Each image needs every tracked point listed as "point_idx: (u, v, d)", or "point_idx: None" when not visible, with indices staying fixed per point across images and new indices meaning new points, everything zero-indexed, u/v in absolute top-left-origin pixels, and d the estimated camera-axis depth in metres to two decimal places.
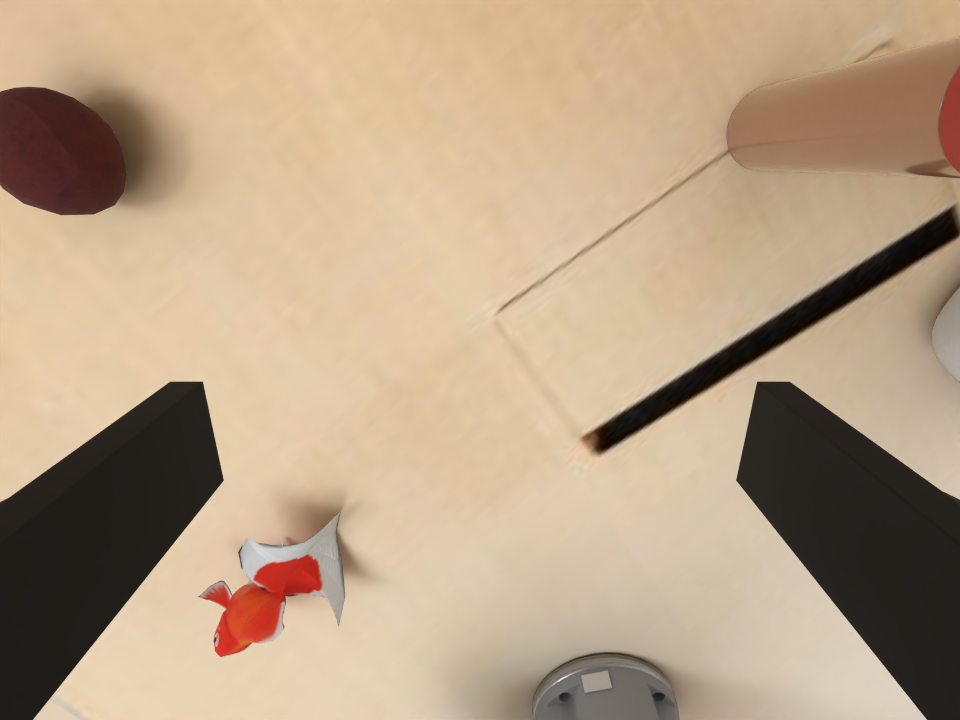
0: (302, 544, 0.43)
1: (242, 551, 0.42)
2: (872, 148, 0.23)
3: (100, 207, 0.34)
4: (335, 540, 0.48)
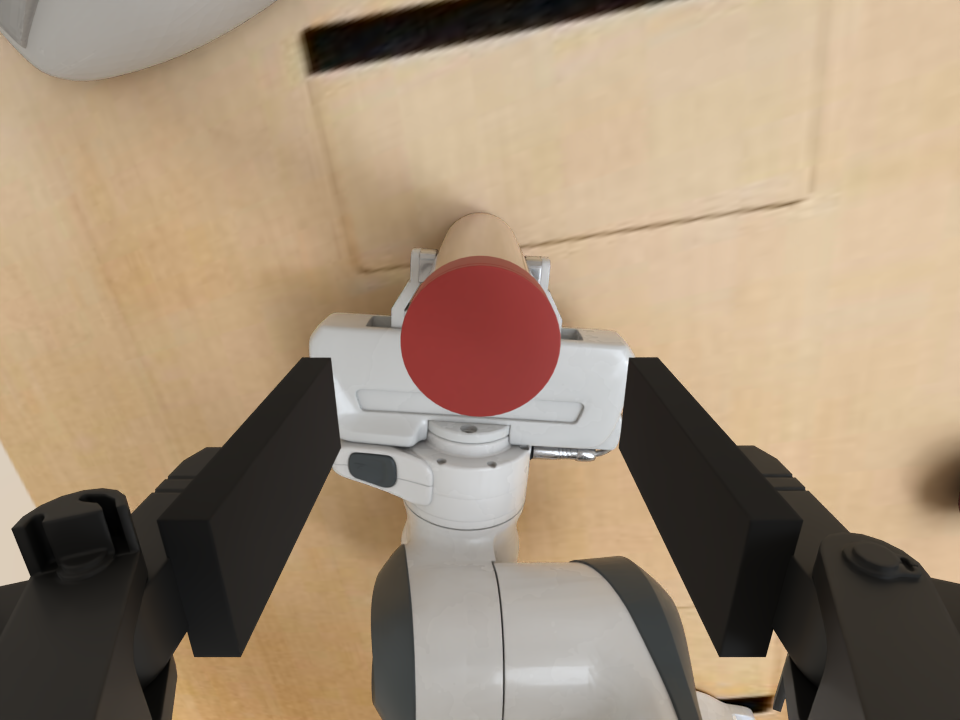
0: None
1: None
2: None
3: None
4: None
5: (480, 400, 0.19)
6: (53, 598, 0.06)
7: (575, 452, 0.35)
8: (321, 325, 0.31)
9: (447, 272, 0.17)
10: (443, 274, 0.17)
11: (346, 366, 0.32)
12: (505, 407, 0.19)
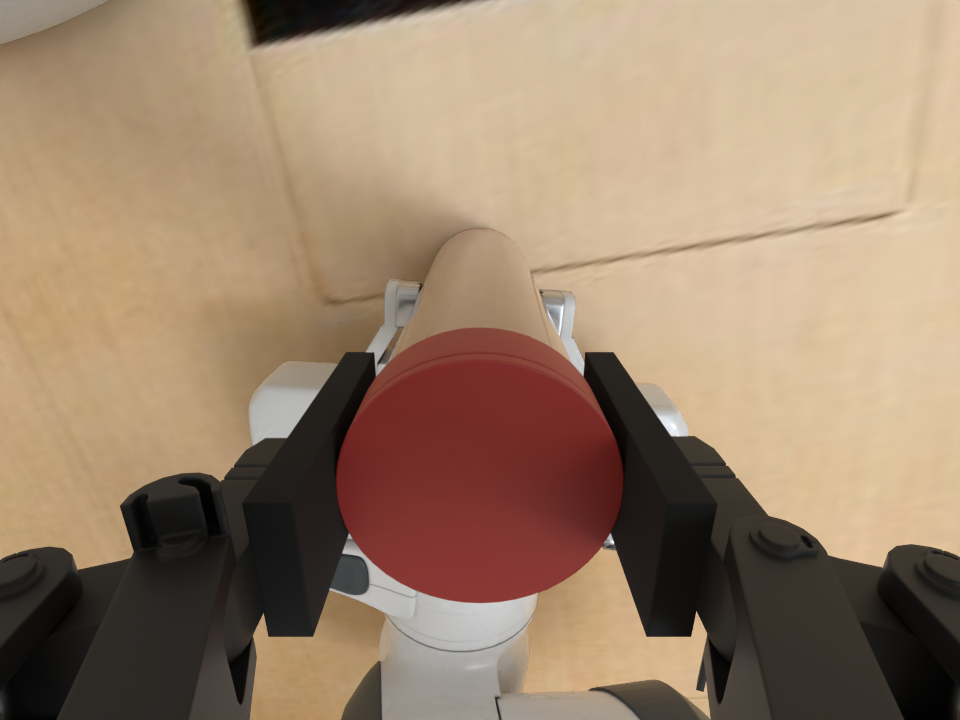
0: None
1: None
2: None
3: None
4: None
5: (479, 579, 0.11)
6: (154, 574, 0.07)
7: None
8: (265, 384, 0.23)
9: (417, 371, 0.09)
10: (410, 375, 0.09)
11: None
12: (523, 589, 0.11)
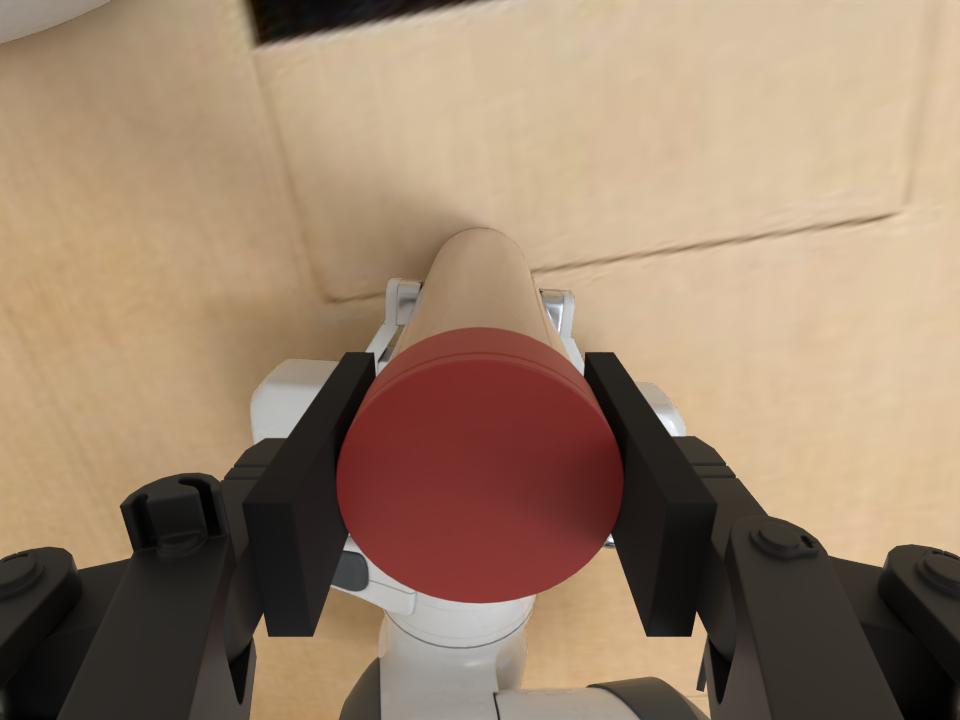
0: None
1: None
2: None
3: None
4: None
5: (583, 458, 0.10)
6: (153, 574, 0.07)
7: None
8: (266, 381, 0.23)
9: (387, 572, 0.11)
10: (393, 577, 0.11)
11: None
12: (582, 412, 0.10)
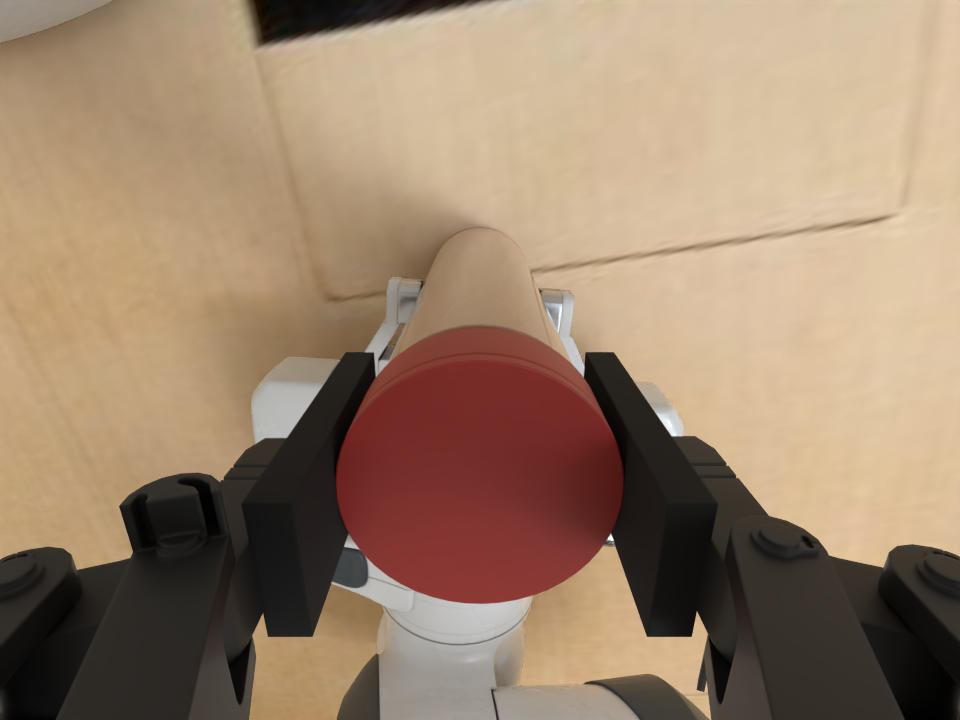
0: None
1: None
2: None
3: None
4: None
5: (397, 427, 0.10)
6: (153, 574, 0.07)
7: None
8: (267, 378, 0.23)
9: (608, 534, 0.11)
10: (611, 529, 0.11)
11: None
12: (353, 448, 0.10)
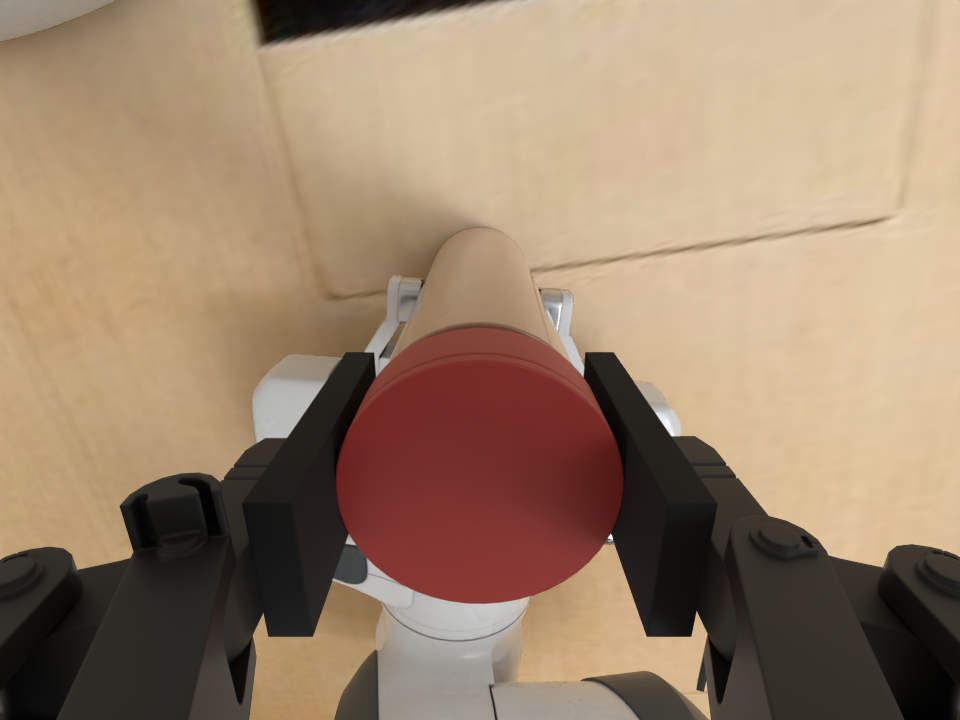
0: None
1: None
2: None
3: None
4: None
5: (441, 574, 0.11)
6: (153, 575, 0.07)
7: None
8: (268, 376, 0.23)
9: (475, 360, 0.09)
10: (466, 361, 0.09)
11: None
12: (477, 596, 0.11)
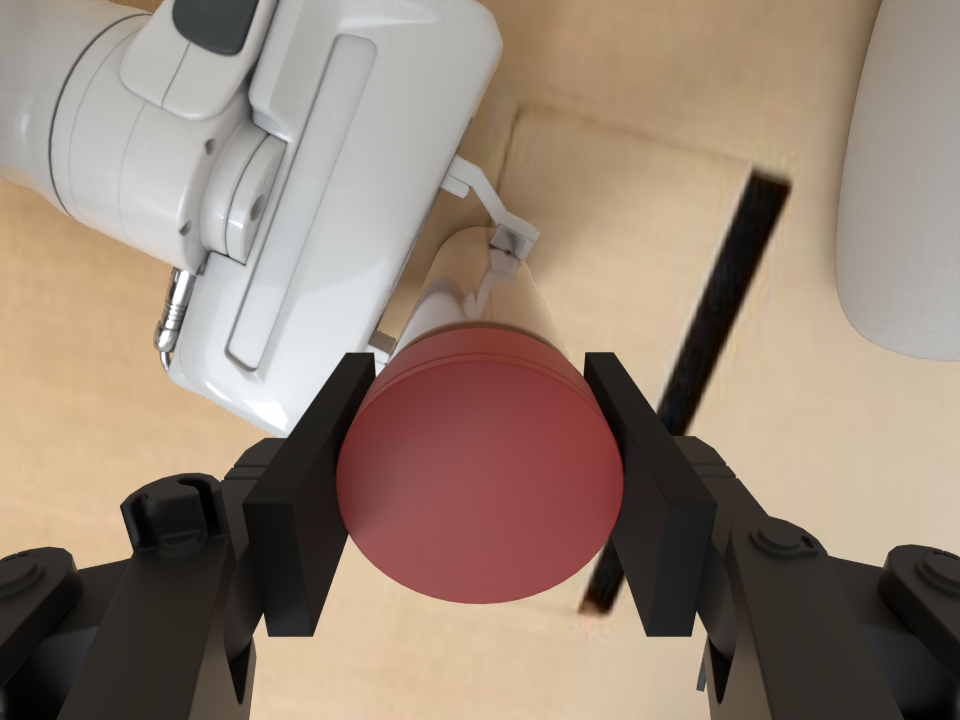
0: None
1: None
2: None
3: None
4: None
5: (441, 574, 0.11)
6: (153, 575, 0.07)
7: (173, 327, 0.24)
8: (501, 44, 0.19)
9: (475, 360, 0.09)
10: (467, 360, 0.09)
11: (424, 51, 0.19)
12: (477, 596, 0.11)
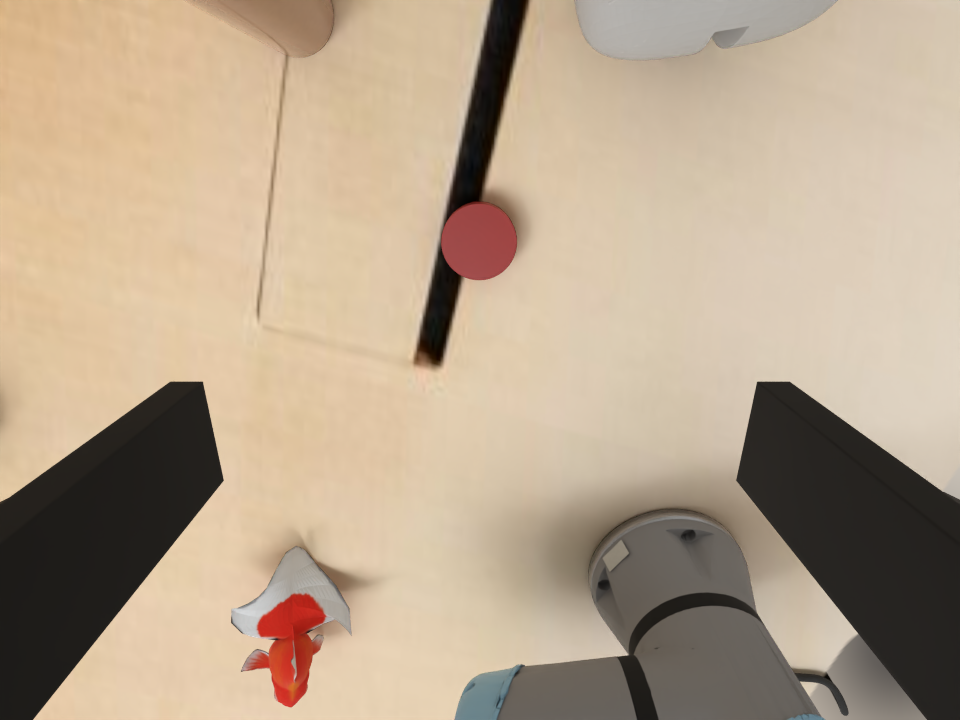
0: (270, 589, 0.47)
1: (233, 620, 0.48)
2: None
3: None
4: (317, 570, 0.52)
5: (468, 269, 0.40)
6: None
7: None
8: None
9: (477, 203, 0.38)
10: (475, 203, 0.38)
11: None
12: (478, 277, 0.40)
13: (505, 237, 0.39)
